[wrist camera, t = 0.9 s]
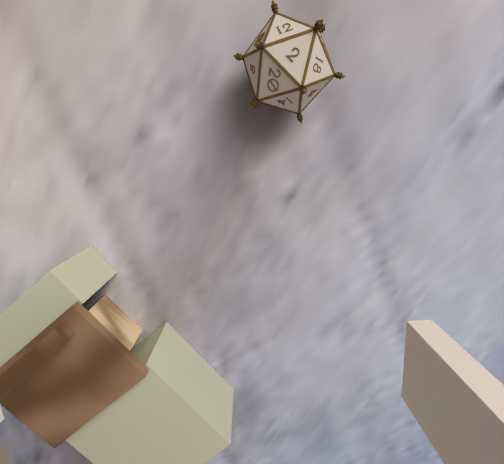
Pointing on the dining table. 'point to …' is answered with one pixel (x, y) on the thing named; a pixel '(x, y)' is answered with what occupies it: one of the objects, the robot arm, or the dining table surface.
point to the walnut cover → (67, 375)
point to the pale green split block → (144, 392)
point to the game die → (288, 63)
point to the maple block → (115, 321)
